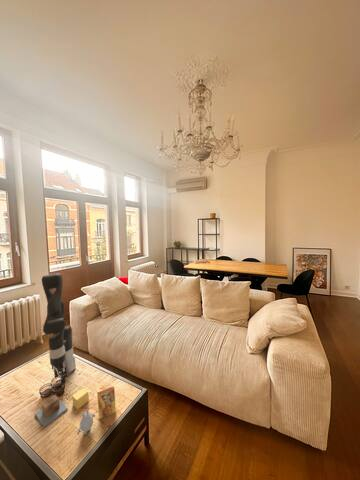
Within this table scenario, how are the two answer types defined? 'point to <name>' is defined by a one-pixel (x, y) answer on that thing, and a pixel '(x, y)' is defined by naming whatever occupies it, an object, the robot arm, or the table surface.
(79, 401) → the mustard brick
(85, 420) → the toy figure
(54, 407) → the walnut brick
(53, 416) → the slate baseplate
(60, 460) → the table surface
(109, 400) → the candy box
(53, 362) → the robot arm
